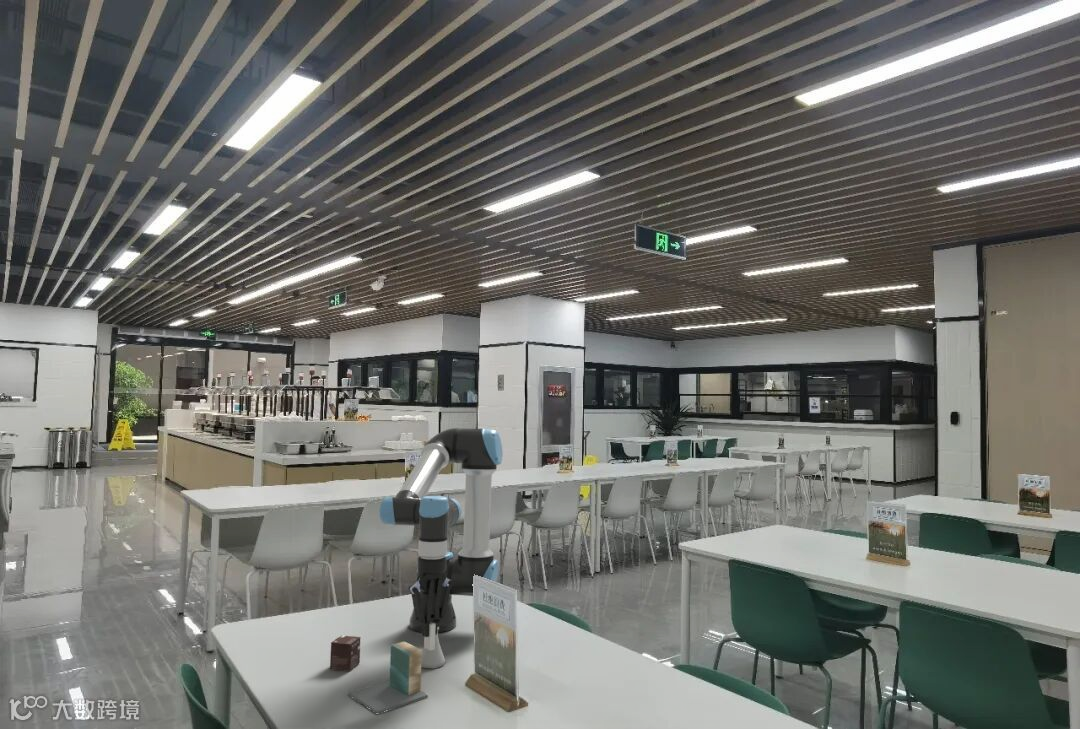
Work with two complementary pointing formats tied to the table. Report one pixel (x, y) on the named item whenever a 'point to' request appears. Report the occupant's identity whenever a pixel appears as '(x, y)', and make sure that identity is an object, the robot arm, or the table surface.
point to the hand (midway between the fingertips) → (429, 648)
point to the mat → (384, 697)
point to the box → (345, 653)
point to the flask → (433, 656)
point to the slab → (405, 668)
